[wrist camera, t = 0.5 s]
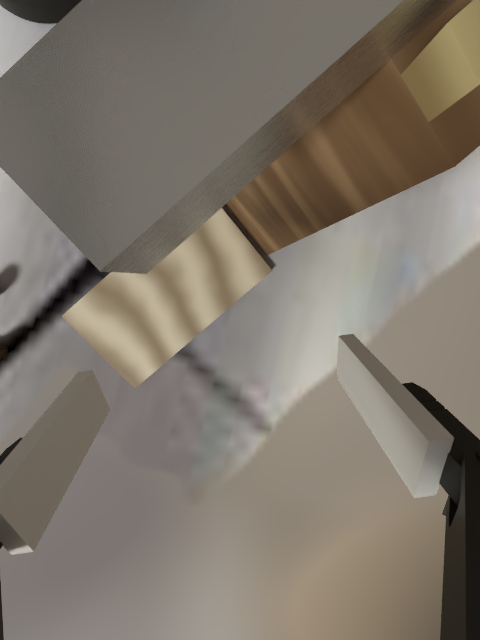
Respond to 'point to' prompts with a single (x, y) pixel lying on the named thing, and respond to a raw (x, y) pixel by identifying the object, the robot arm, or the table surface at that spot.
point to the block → (179, 107)
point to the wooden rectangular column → (376, 137)
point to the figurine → (3, 350)
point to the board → (168, 299)
